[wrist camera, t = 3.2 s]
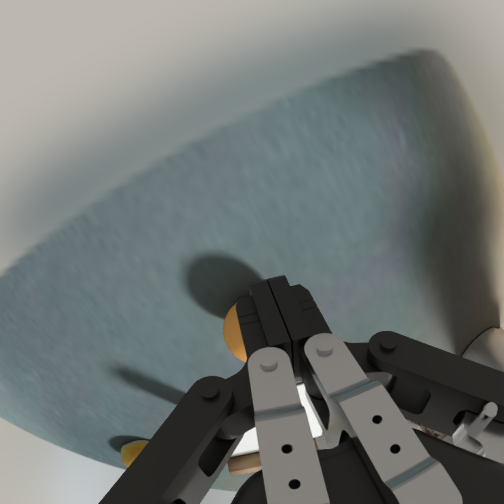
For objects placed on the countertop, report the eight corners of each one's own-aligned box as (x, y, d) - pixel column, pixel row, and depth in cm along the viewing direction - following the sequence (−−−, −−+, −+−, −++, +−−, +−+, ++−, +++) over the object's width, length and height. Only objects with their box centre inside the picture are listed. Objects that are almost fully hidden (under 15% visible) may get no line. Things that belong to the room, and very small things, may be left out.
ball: (280, 275, 26) (300, 319, 21) (285, 323, 29) (302, 368, 24) (213, 289, 26) (221, 337, 21) (226, 337, 28) (234, 384, 24)
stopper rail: (314, 438, 43) (319, 451, 41) (314, 443, 44) (318, 455, 42) (226, 458, 42) (229, 472, 40) (229, 462, 43) (231, 475, 41)
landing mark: (325, 376, 35) (326, 377, 34) (321, 434, 43) (321, 435, 43) (189, 407, 33) (189, 408, 33) (219, 457, 41) (219, 458, 41)
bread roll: (124, 433, 35) (123, 458, 32) (187, 443, 38) (189, 467, 35) (117, 455, 38) (117, 477, 35) (173, 463, 41) (175, 485, 38)
